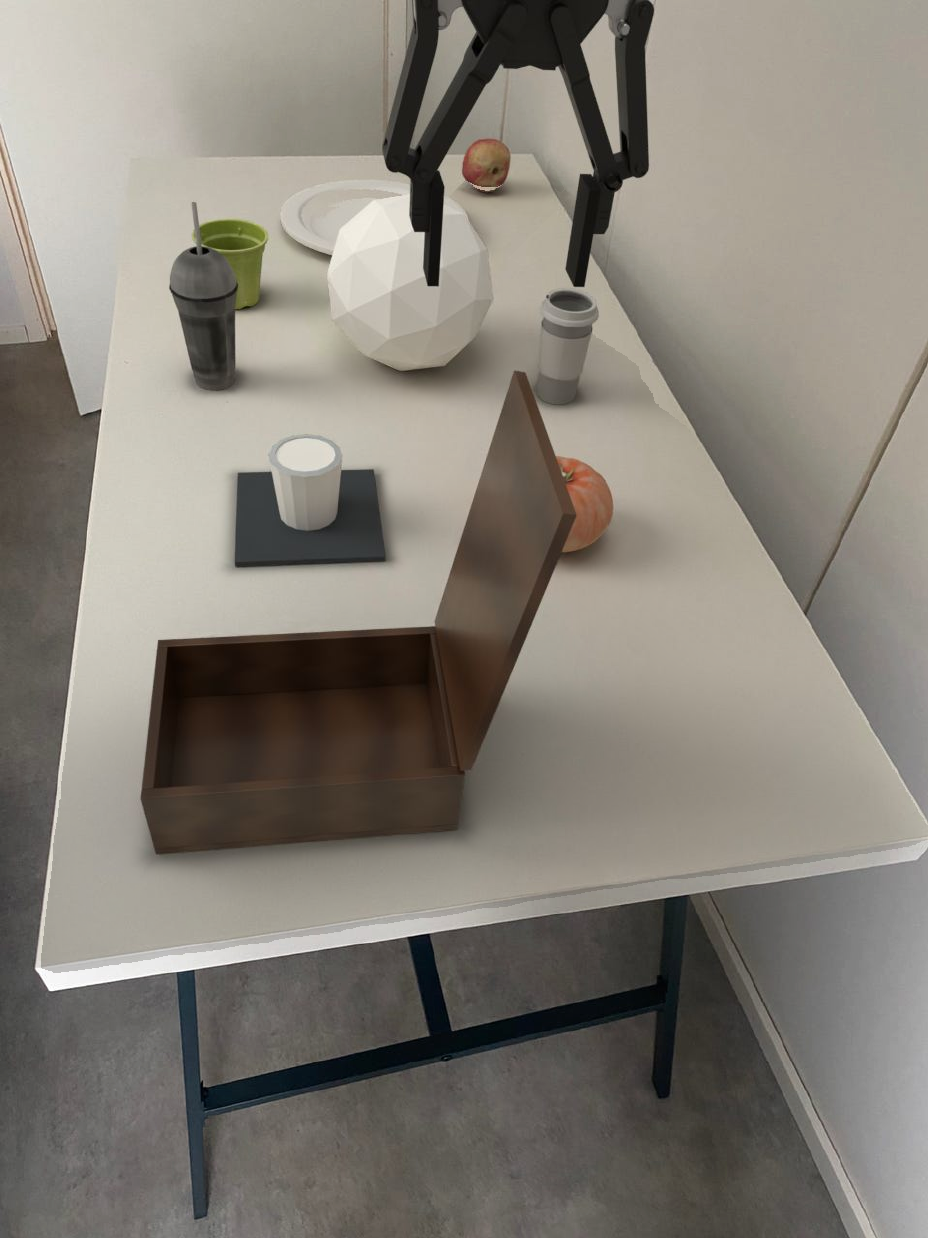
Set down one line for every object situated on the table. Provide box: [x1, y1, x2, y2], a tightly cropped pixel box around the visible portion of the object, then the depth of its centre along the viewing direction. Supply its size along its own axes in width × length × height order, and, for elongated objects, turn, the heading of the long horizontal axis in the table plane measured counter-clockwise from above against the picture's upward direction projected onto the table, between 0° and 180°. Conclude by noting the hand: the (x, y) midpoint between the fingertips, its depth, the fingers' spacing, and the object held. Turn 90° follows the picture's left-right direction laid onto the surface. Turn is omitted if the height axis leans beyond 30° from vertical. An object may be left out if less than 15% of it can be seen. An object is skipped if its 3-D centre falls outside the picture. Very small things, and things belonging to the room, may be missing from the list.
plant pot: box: [191, 218, 269, 310], centre depth 124 cm, size 9×9×9 cm
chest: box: [140, 625, 466, 855], centre depth 72 cm, size 22×15×7 cm
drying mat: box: [234, 468, 386, 568], centre depth 96 cm, size 14×14×1 cm
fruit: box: [461, 138, 512, 194], centre depth 157 cm, size 8×8×8 cm
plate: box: [279, 178, 470, 256], centre depth 144 cm, size 28×28×2 cm
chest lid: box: [434, 370, 577, 772], centre depth 64 cm, size 23×15×1 cm
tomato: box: [555, 455, 614, 553], centre depth 94 cm, size 11×11×8 cm
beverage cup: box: [168, 201, 238, 391], centre depth 105 cm, size 7×7×20 cm
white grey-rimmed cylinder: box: [268, 433, 343, 531], centre depth 93 cm, size 7×7×7 cm
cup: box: [536, 287, 600, 406], centre depth 112 cm, size 7×7×12 cm
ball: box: [326, 194, 495, 372], centre depth 113 cm, size 19×20×20 cm
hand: (503, 277), depth 66 cm, fingers open, 9 cm apart
